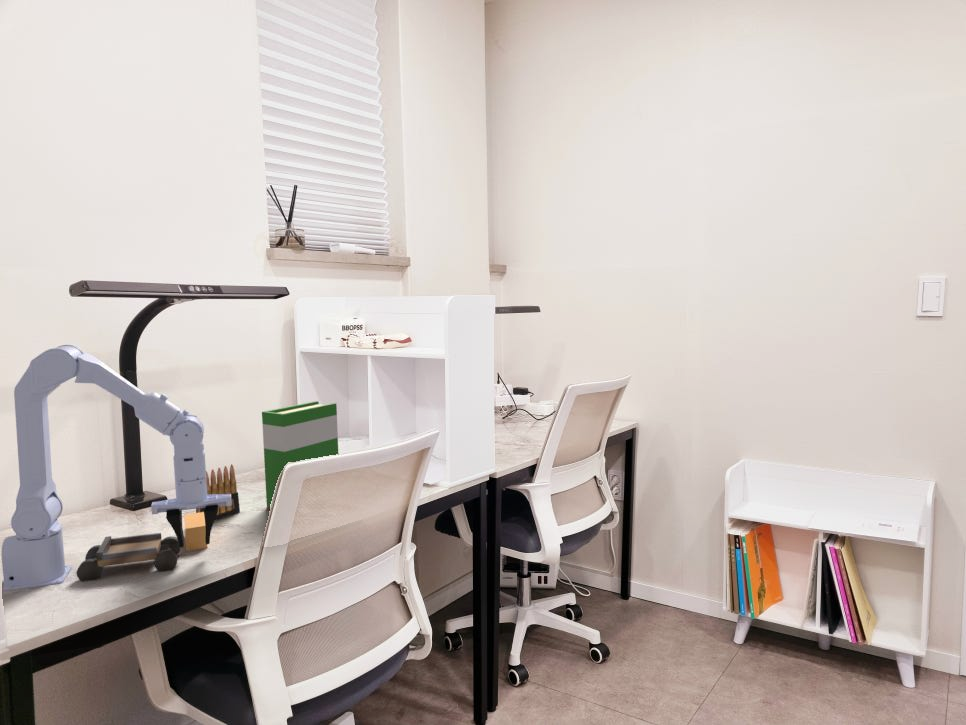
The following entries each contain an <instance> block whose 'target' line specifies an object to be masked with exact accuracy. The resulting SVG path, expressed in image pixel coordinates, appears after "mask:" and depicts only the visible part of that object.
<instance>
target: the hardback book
mask: <svg viewBox="0 0 966 725" xmlns="http://www.w3.org/2000/svg"><path fill="white" fill-rule="evenodd" d="M337 413H338V406H337V403H336V402H333V403H327V404H320V403H319V401H317V400H315V401H309V402H305V403H299V404H295V405H290V406H289V405H288V406H285V407H279V408H275V409H271V410H269V409H268V410H265V411H261V422H262V424H261V425H262V438H263V439H262V440H263V456H264V457H263V458H264V462H263V463H264V476H265V480H264V481H265V495H266V496H265V499H266V500H265V501H266V508H267V509H269V508H270V504H271V501H272V497H273V494H274V490H275V486H276V483H277V480H278V477H279V475H280V473H281V471H282V470H283V468H284V466H285V465H286V464H287V463H288V462H296V461H300V460H305V459H311V458H318V457H323V456H329V455H336V454H338V455H339V440H338V439H339V438H338V434H339V433H338V432H339V431H338V414H337Z"/></svg>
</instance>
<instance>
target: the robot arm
mask: <svg viewBox="0 0 966 725" xmlns="http://www.w3.org/2000/svg"><path fill="white" fill-rule="evenodd" d="M73 378H75V380H74V383H77V384H94V385H97V387H98V386H99V387H100V388H102V389H104V390H105V391H106V392H108V393H110V394H111V395H113V396H114V397H117V398H118V399H120V400H122V401H123V402H124V403H126V404H128V405H130V406H131V407H133V409H134V415H135V417H136V418H137V419H139V420H141V421H142V422H143V423H145V424H147V425H148V426H149V427H150V428H152V429H154V430H156V432H159V433H160V434H162V436H167V437H169V441H170V442H171V444H172V446H173V452H174V454H173V472H174V484H175V498H170V499H165V500H158V501H152V503H151V505H150V506H151V514H152V515H158V514H161V513H166V516H165V519H166V520H167V522H168V524H169V525H170V527H171V528H172V530H173V532H174V534H175V536H176V538H177V539H178V542H179V546H180V549H181V548H184V547H185V534H184V529H183V511H185V510H187V511H189V510H196V509H197V508H205V510H204V516H205V527H206V535H205V542H206V544H207V545H210V542H211V532H212V529H213V525H214V523H215V521H214V520H215V517H216V515H217V512H218V506H224V505H226V506H231V505H232V501H231V494H221V495H207V481H206V471H207V469H206V468H207V467H206V466H207V465H206V454H205V452H204V449H205V446H204V445H205V444H204V441H203V439H204V433H205V428H204V424H203V422H202V421H201V419H200V418H198V416H197V415H195V414H191V413H190V411H189V410H187V409H184V410H183V409H181V408H180V407H178V406H177V405H175V404H174V403H172V402H171V401H170V400H168V398H169V396H167V394H165V393H161V394H159V393H157V392H154V391H153V392H149V393H148V392H143V390H141V389H140V388H138V387H137V386H136V385H134V384H133V383H131V382H130V381H129V380H128V379H126V378H125V377H123V376H122V375H121V374H119V373H118V372H116V371H115V370H114V369H112V368H111V367H110V366H108V365H106V363H104V362H103V361H102V360H100V359H99V358H97V357H95V356H94V355H92V354H90V353H88V352H85V353H84V352H83V350H82V349H81V348H79V347H77V346H76V345H73V344H62V345H60V346H59V345H58V346H57V347H52V348H48V349H46V350H45V351H42V352H41V353H40V354H39V355H37V356H36V357H34V358H32V359H31V361H30V363H29V366H28V367H27V368H26V370H25V372H24V373H23V375H22V376H21V377H20V379H19V380H18V382H17V383H16V385H15V386H14V391H13V393H14V394H13V395H14V396H13V397H14V411H15V412H14V413H15V427H16V430H15V431H16V443H17V458H18V473H19V475H18V476H19V488H18V491H17V495H16V498H15V511H14V513H13V515H12V516H11V519H10V526H11V528H12V530H13V532H14V533H15V535H10V536H6V537H4V539H3V542H2V544H1V545H2V546H1V551H0V552H1V554H0V555H1V565H2V566H1V569H2V576H3V590H2V591H11V590H18V589H19V590H20V589H28V588H34V587H43V586H50V585H57V584H58V585H59V584H62V583H64V582H65V581H66V578H67V577H68V575H69V574H70V572H71V570H72V568H73V565H71V564H70V565H66V560H65V559H66V558H65V548H64V537H63V526H62V525H61V524H60V523H59V520H58V519H59V517H60V516H61V515H62V513H63V508H64V506H63V502H62V500H61V498H60V497H59V495H58V491H57V485H56V483H55V482H54V480H53V472H52V457H51V456H52V454H51V439H50V438H51V437H50V420H49V408H48V406H49V405H48V397H49V395H51V394H52V393H53V392H54V391H55V390H56V389H57V388H59V387H60V386H61V385H62V384H64V383H66V382H68V381H69V380H71V379H73Z"/></svg>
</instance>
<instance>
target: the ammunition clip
mask: <svg viewBox="0 0 966 725" xmlns="http://www.w3.org/2000/svg"><path fill="white" fill-rule="evenodd" d="M206 481H207V495H221V494H231V501H232V505H231V506H226V505H224V506H218V512H217V515H216V517H215V520H214V522H215V521H219V520H222V519H224V518H227V517H230V516H234V515H236V514H237V515H238V514H239V513H240V512H241V510H240V498H239V492H238V489H237V488H238V487H237V480H236V473H235V468H234V464H230V466H229V471H228V467H227V466H226V465H225V466H224V467H223V473H222V470H221V468H220V467H218V468H217V472H215V470H214V469H213V468H212V469H211V471H210V477H209V473H208V472H207V470H206ZM204 510H205V508H197V509H195V513H200V512H204ZM204 517H205V516H204Z"/></svg>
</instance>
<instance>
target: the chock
mask: <svg viewBox="0 0 966 725" xmlns="http://www.w3.org/2000/svg"><path fill="white" fill-rule="evenodd" d="M183 517H184V518H183V519H184V533H185V534H184V538H185V546H186V551H187V552H189V551H195V550H201V549H202V550H203V549H208V544H206V542H205V535H206V527H205V517H204V512H200V513H196V512H193V513H186V514H183Z"/></svg>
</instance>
